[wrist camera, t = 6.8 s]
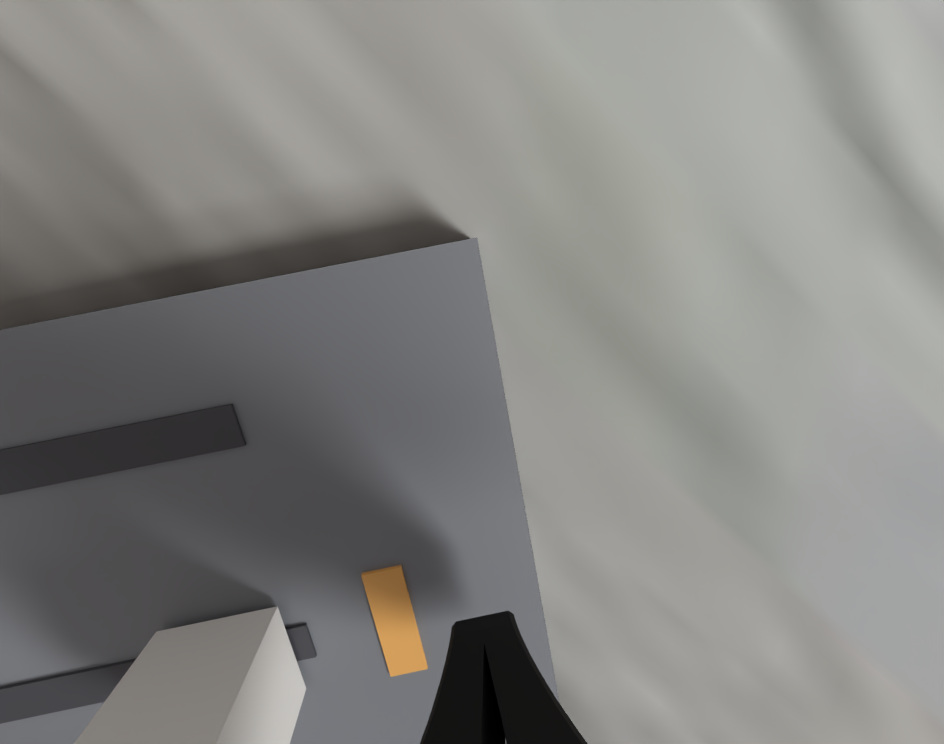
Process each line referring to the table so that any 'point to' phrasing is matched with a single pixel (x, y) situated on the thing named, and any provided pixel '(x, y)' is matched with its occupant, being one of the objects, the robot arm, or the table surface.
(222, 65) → the table surface
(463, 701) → the robot arm
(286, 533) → the breaker panel
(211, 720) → the handle
